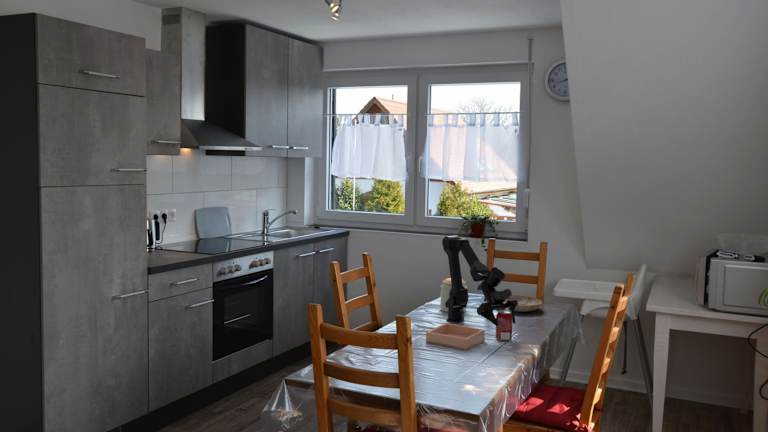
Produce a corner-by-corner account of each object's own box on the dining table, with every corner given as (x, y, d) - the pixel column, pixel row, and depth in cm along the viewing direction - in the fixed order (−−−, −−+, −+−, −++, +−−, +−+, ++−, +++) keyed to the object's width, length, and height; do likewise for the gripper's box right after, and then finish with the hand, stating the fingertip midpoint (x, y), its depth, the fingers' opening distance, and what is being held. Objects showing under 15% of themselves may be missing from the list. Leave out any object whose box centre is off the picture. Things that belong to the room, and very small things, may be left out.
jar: (470, 309, 340) (472, 274, 338) (459, 314, 329) (460, 278, 327) (447, 305, 347) (448, 271, 345) (435, 310, 336) (436, 275, 334)
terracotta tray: (425, 342, 280) (426, 332, 280) (445, 333, 295) (446, 323, 295) (466, 350, 271) (466, 339, 270) (484, 340, 286) (484, 329, 286)
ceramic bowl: (513, 316, 328) (514, 306, 327) (484, 306, 348) (485, 296, 348) (551, 312, 338) (552, 302, 338) (521, 302, 359) (521, 292, 358)
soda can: (511, 342, 284) (512, 313, 283) (494, 341, 285) (496, 312, 284) (511, 337, 291) (513, 310, 289) (495, 336, 292) (496, 309, 291)
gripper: (481, 284, 284) (498, 316, 276) (516, 280, 294) (533, 311, 285) (469, 299, 292) (485, 330, 284) (503, 295, 301) (519, 325, 293)
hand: (506, 324), depth 286 cm, fingers open, 9 cm apart
